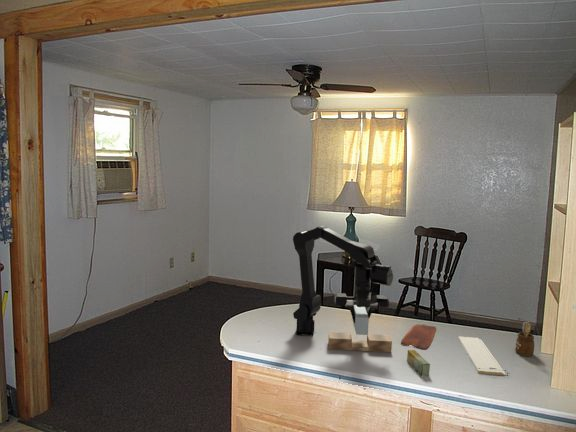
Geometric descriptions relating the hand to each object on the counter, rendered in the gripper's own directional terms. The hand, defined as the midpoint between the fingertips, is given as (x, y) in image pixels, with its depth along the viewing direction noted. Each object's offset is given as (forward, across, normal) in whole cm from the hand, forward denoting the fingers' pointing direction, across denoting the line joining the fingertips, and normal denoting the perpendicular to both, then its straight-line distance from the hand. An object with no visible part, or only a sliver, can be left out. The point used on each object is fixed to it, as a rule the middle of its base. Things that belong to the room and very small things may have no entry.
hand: (360, 323), depth 168 cm
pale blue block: (+2, 0, 0) cm, 2 cm away
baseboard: (+10, +43, -2) cm, 44 cm away
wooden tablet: (+10, +25, +15) cm, 31 cm away
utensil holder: (+9, +59, +2) cm, 60 cm away
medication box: (+9, +18, -14) cm, 25 cm away
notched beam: (+9, 0, 0) cm, 9 cm away
